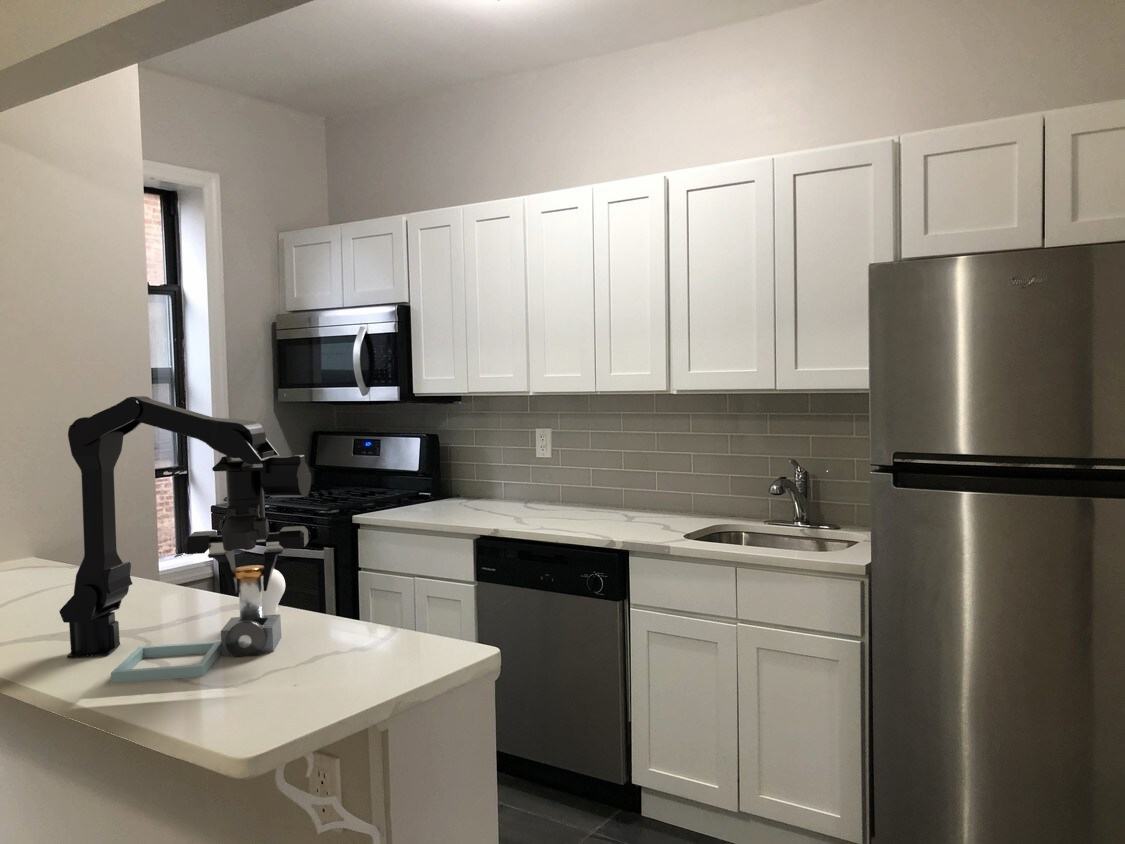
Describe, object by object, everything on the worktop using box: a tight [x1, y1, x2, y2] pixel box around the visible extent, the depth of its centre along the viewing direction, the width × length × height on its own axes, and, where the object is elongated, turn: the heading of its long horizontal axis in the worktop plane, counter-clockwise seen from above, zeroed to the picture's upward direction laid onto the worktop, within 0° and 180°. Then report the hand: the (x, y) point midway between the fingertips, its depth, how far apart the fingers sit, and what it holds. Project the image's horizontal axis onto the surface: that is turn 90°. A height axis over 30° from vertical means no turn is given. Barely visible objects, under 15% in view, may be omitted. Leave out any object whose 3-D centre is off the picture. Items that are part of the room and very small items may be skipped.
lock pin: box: [234, 564, 264, 620], centre depth 150 cm, size 5×5×8 cm
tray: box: [110, 640, 222, 684], centre depth 141 cm, size 13×13×2 cm
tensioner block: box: [220, 613, 282, 658], centre depth 149 cm, size 8×10×6 cm
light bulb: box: [261, 568, 286, 615], centre depth 164 cm, size 7×7×11 cm
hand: (250, 591), depth 150 cm, fingers closed on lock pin, 4 cm apart
